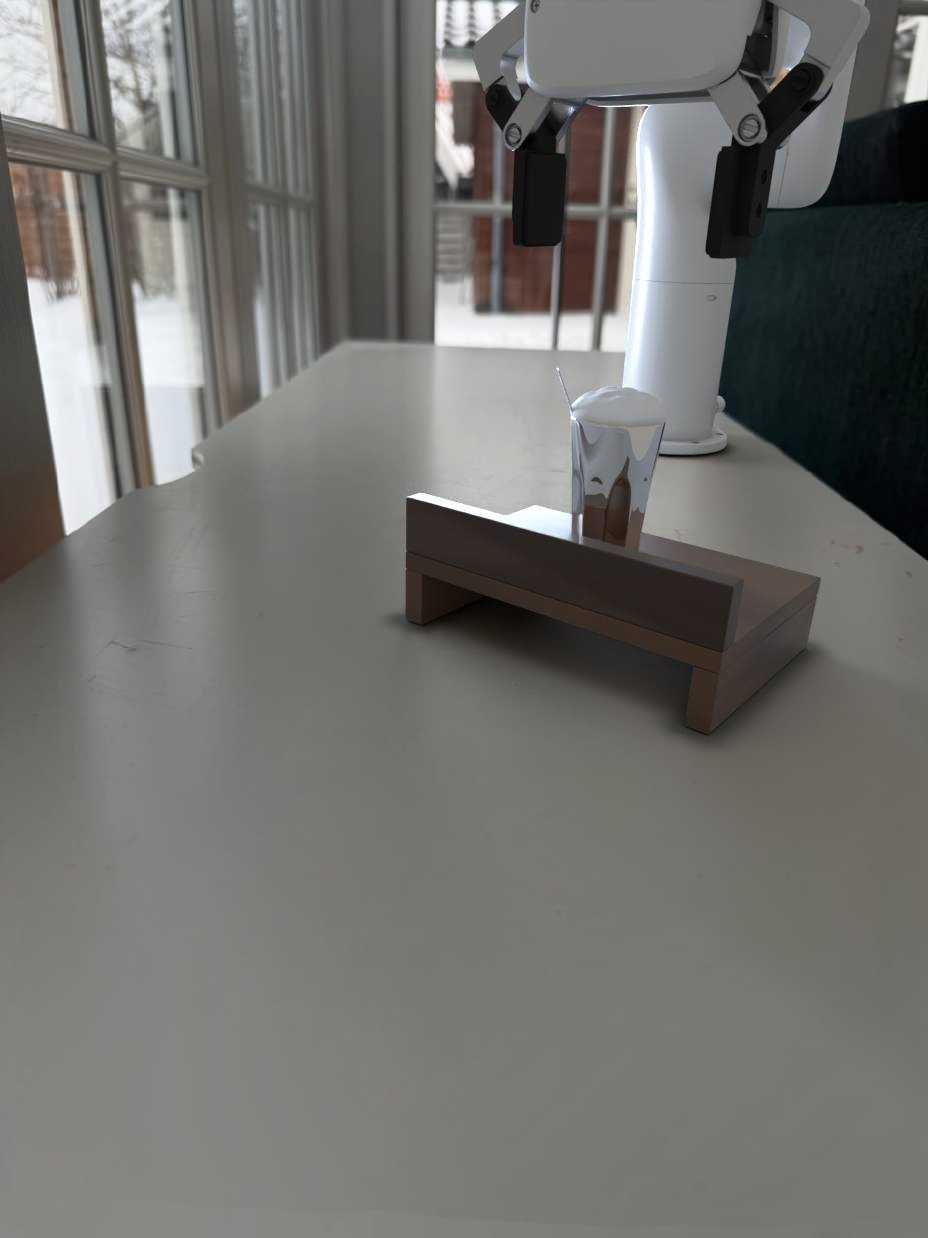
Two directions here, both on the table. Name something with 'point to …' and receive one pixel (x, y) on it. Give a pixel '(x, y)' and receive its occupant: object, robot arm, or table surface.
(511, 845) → the table surface
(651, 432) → the milkshake
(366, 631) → the table surface
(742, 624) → the shelf
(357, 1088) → the table surface
